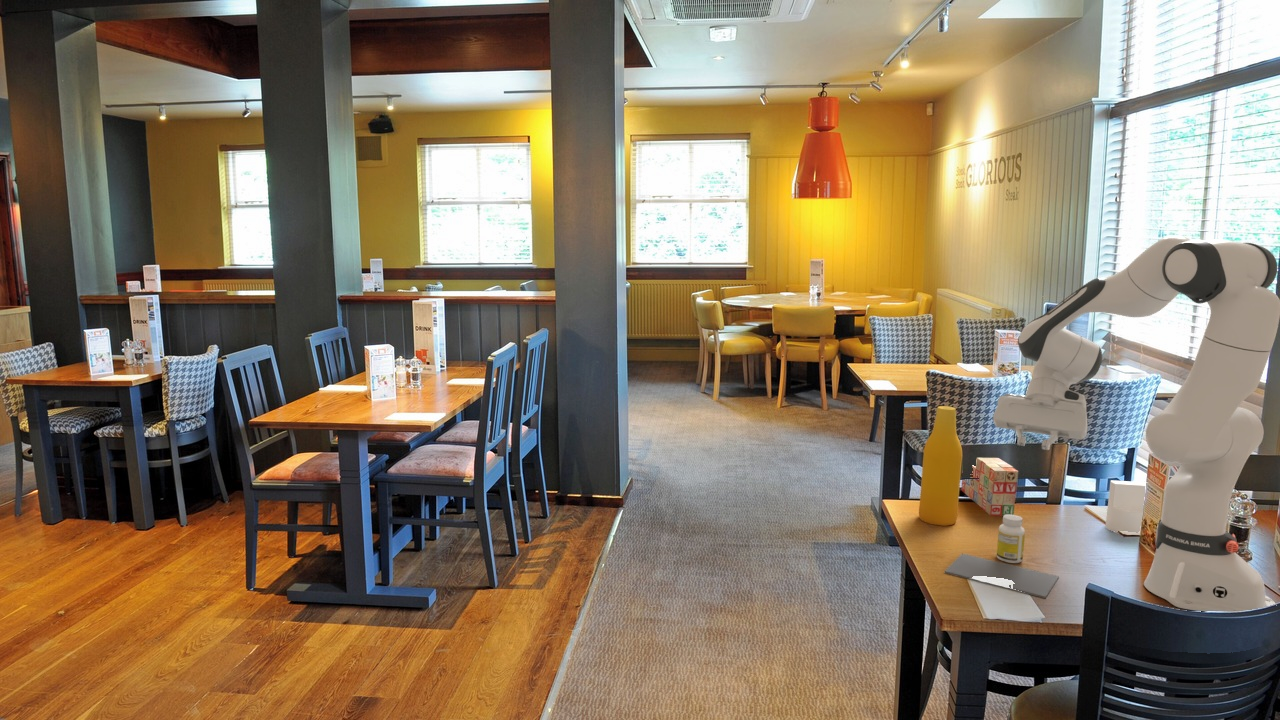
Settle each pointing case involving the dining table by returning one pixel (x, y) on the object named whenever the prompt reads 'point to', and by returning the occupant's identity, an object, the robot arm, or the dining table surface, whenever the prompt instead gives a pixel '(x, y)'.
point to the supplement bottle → (1011, 539)
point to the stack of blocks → (992, 486)
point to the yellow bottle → (941, 471)
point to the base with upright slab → (1125, 506)
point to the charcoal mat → (1004, 574)
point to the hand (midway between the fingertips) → (1032, 446)
